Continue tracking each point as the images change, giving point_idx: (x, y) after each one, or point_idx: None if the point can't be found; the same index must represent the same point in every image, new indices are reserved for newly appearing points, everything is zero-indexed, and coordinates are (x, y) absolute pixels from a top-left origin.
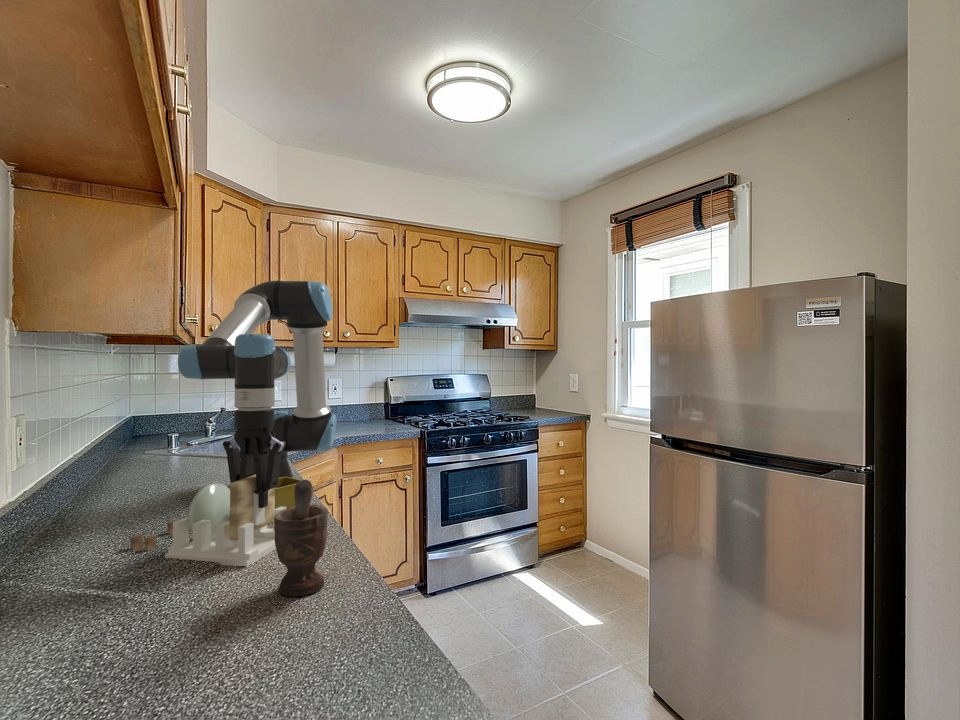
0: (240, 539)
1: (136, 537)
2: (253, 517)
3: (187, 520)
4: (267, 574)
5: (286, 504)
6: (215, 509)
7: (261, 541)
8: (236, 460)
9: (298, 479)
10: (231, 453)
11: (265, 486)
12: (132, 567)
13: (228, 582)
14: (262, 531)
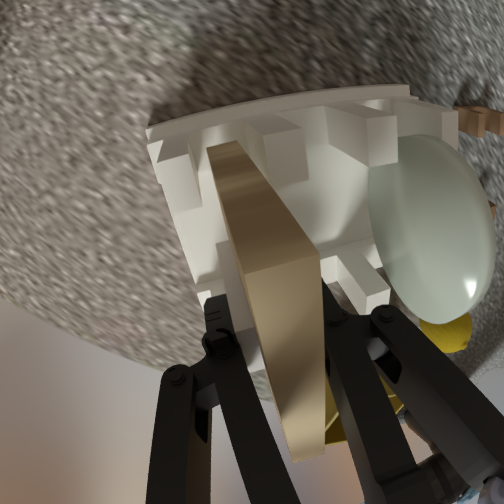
0: (179, 145)
1: (499, 117)
2: (232, 256)
3: None
4: (61, 129)
5: None
6: (413, 238)
7: None
8: (449, 433)
9: (336, 443)
10: (492, 454)
11: (190, 377)
12: (426, 37)
13: (112, 44)
14: None
